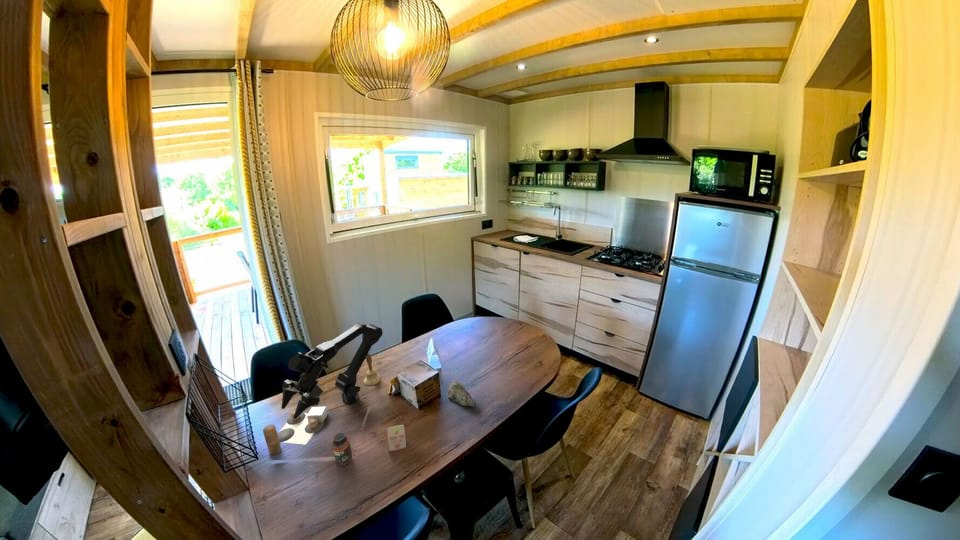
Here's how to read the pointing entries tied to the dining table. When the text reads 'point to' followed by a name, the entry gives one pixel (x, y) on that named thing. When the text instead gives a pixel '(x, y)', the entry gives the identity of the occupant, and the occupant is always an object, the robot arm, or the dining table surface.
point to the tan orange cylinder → (272, 439)
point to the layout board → (299, 429)
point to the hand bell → (371, 373)
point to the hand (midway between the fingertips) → (288, 413)
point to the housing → (317, 414)
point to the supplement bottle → (341, 449)
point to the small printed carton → (396, 438)
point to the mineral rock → (459, 394)
